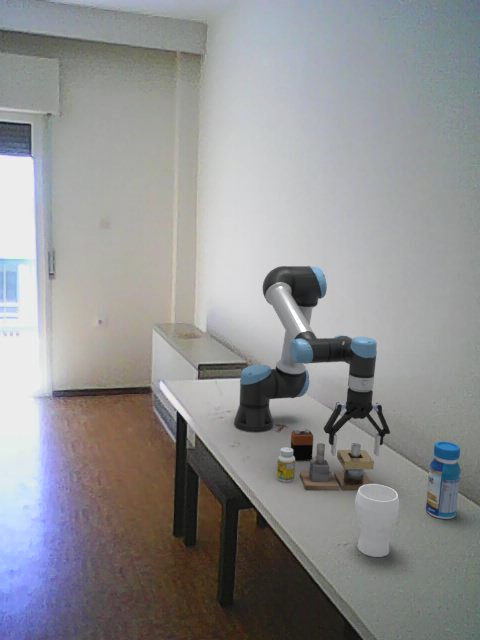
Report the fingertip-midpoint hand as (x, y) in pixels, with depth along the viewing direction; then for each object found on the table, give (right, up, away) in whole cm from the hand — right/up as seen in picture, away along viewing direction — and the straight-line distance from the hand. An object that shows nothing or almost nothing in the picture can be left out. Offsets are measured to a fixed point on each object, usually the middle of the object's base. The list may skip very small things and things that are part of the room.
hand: (354, 454), depth 183 cm
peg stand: (0, -9, +1) cm, 9 cm away
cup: (-2, -16, -36) cm, 39 cm away
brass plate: (0, -3, 0) cm, 3 cm away
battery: (-15, -6, +19) cm, 25 cm away
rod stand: (-11, -9, 0) cm, 14 cm away
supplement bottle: (-21, -8, +2) cm, 23 cm away
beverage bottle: (+21, -13, -16) cm, 29 cm away
